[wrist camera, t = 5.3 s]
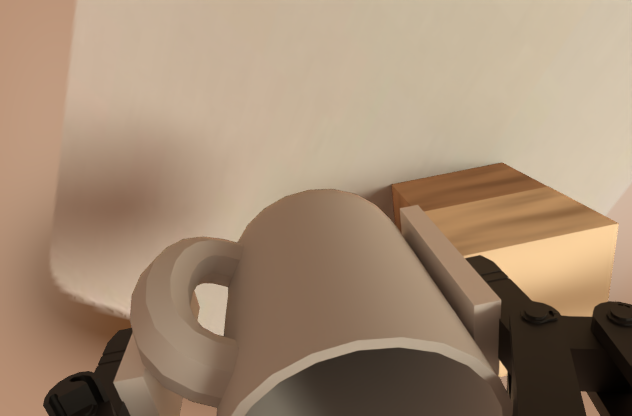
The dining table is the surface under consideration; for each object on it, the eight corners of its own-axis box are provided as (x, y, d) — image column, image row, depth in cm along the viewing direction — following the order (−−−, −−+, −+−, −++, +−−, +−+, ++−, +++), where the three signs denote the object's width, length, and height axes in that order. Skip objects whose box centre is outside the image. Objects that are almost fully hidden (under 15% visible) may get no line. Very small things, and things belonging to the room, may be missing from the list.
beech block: (417, 212, 28) (457, 257, 23) (548, 186, 29) (618, 223, 23) (425, 324, 32) (461, 385, 26) (541, 298, 32) (600, 353, 27)
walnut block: (390, 183, 34) (418, 213, 28) (501, 162, 34) (548, 187, 29) (399, 281, 37) (425, 324, 32) (499, 260, 38) (542, 299, 32)
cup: (357, 348, 20) (425, 566, 12) (141, 292, 18) (46, 523, 10) (430, 217, 18) (573, 379, 10) (194, 130, 15) (129, 255, 7)
